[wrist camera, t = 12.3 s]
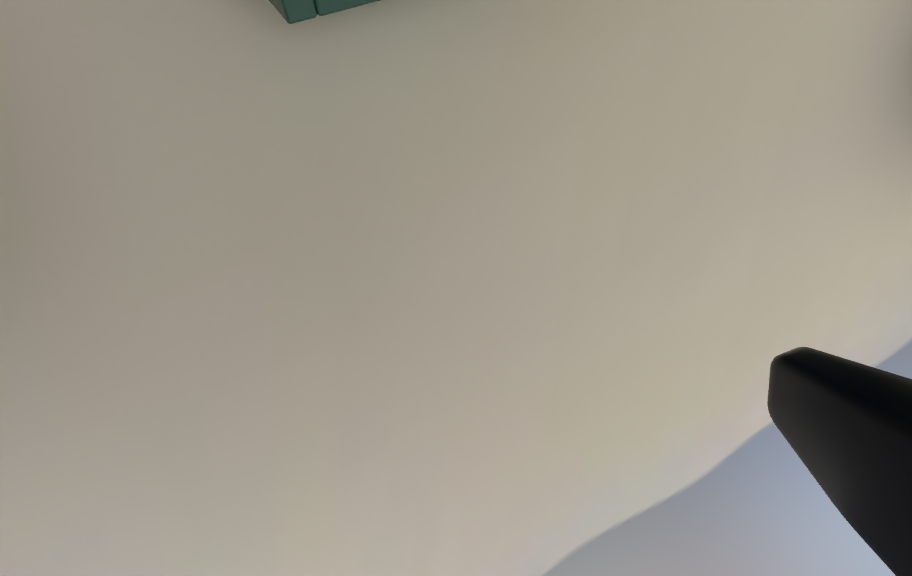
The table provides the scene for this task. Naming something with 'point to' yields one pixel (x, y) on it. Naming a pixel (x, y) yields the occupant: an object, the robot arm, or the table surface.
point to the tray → (313, 8)
